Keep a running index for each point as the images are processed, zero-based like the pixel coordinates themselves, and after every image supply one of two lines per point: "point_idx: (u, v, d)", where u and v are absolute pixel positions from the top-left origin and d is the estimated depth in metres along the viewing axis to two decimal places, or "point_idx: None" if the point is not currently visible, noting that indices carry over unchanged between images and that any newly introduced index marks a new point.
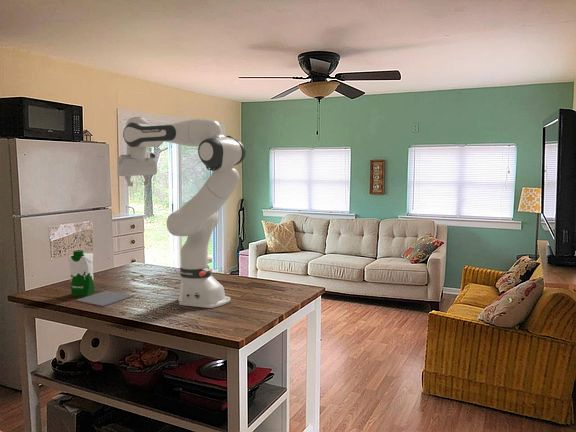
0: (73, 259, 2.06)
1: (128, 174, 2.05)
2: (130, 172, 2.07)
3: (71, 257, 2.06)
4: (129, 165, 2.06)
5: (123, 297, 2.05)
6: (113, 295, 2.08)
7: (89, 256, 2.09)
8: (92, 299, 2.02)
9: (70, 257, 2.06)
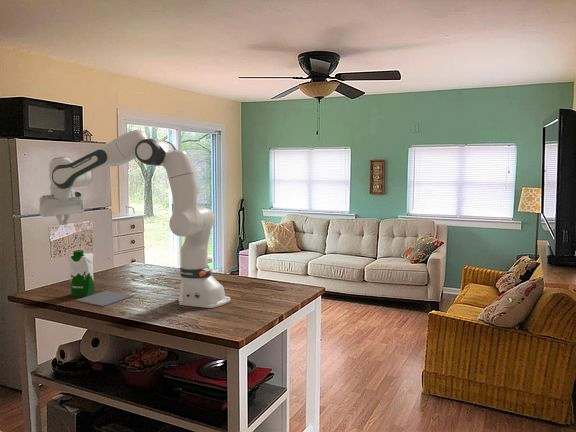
0: (73, 259, 2.06)
1: (50, 214, 2.06)
2: (53, 212, 2.07)
3: (71, 257, 2.06)
4: (51, 205, 2.06)
5: (123, 297, 2.05)
6: (113, 295, 2.08)
7: (89, 256, 2.09)
8: (92, 299, 2.02)
9: (70, 257, 2.06)
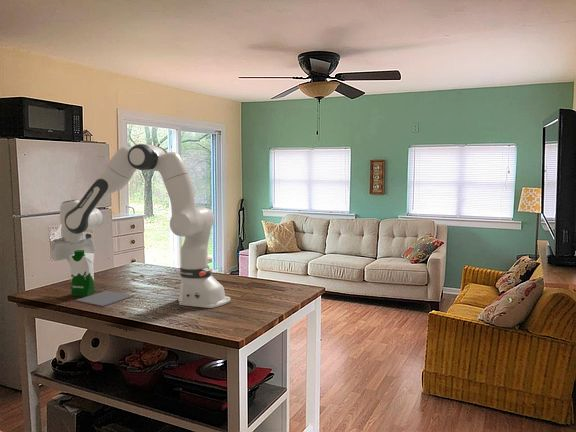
0: (74, 258, 2.05)
1: (61, 258, 2.05)
2: (64, 255, 2.06)
3: (72, 257, 2.06)
4: (62, 249, 2.06)
5: (123, 297, 2.05)
6: (113, 295, 2.08)
7: (90, 256, 2.09)
8: (92, 299, 2.02)
9: (71, 257, 2.06)
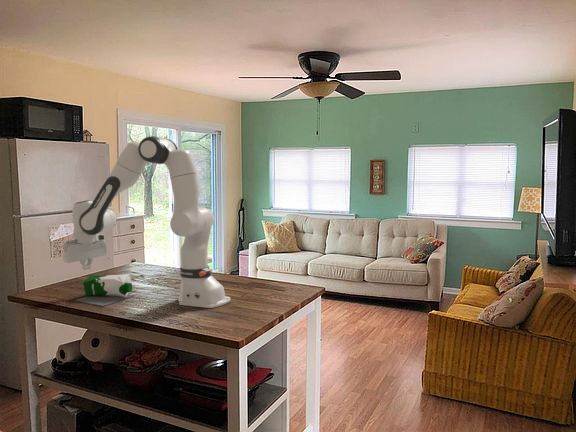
0: (120, 287, 2.03)
1: (74, 260, 2.01)
2: (77, 257, 2.02)
3: (122, 285, 2.03)
4: (75, 251, 2.02)
5: (123, 297, 2.05)
6: None
7: None
8: (92, 299, 2.02)
9: (121, 284, 2.03)
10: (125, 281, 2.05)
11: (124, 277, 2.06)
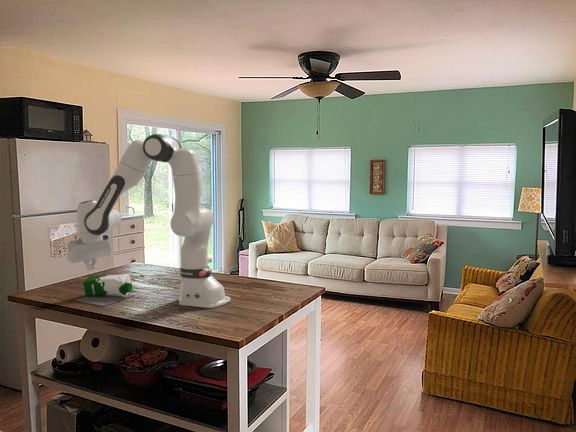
0: (120, 287, 2.03)
1: (78, 260, 2.00)
2: (81, 257, 2.01)
3: (122, 285, 2.03)
4: (79, 251, 2.00)
5: (123, 297, 2.05)
6: None
7: None
8: (92, 299, 2.02)
9: (121, 284, 2.03)
10: (125, 281, 2.05)
11: (124, 277, 2.06)
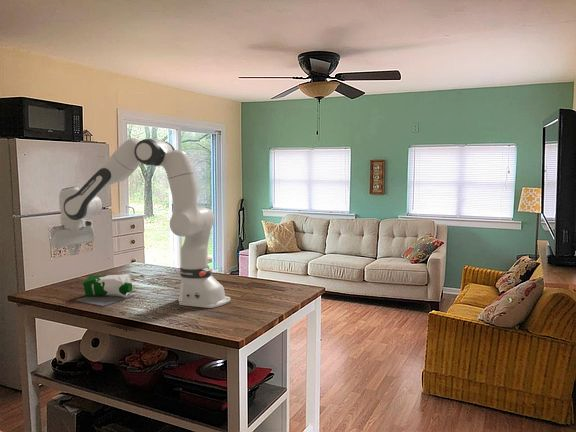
0: (120, 287, 2.03)
1: (61, 245, 2.04)
2: (64, 243, 2.05)
3: (122, 285, 2.03)
4: (62, 236, 2.05)
5: (123, 297, 2.05)
6: None
7: None
8: (92, 299, 2.02)
9: (121, 284, 2.03)
10: (125, 281, 2.05)
11: (124, 277, 2.06)
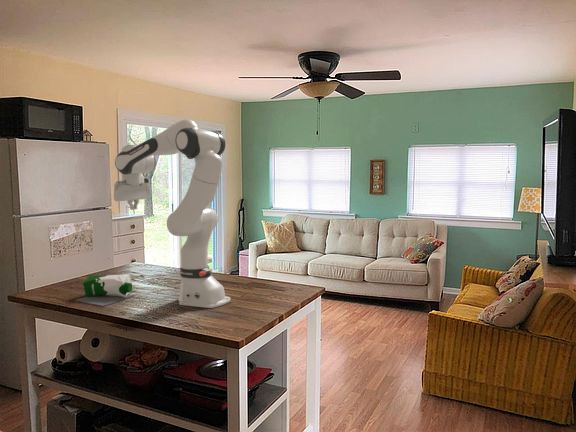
0: (120, 287, 2.03)
1: (124, 199, 2.18)
2: (126, 197, 2.19)
3: (122, 285, 2.03)
4: (124, 191, 2.18)
5: (123, 297, 2.05)
6: None
7: None
8: (92, 299, 2.02)
9: (121, 284, 2.03)
10: (125, 281, 2.05)
11: (124, 277, 2.06)
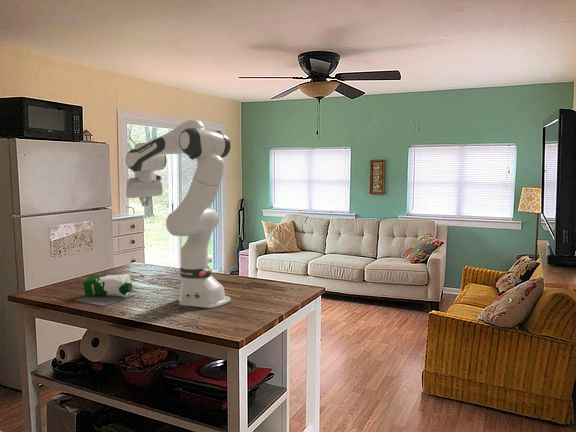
0: (120, 287, 2.03)
1: (136, 196, 2.21)
2: (138, 194, 2.22)
3: (122, 285, 2.03)
4: (137, 187, 2.22)
5: (123, 297, 2.05)
6: None
7: None
8: (92, 299, 2.02)
9: (121, 284, 2.03)
10: (125, 281, 2.05)
11: (124, 277, 2.06)
